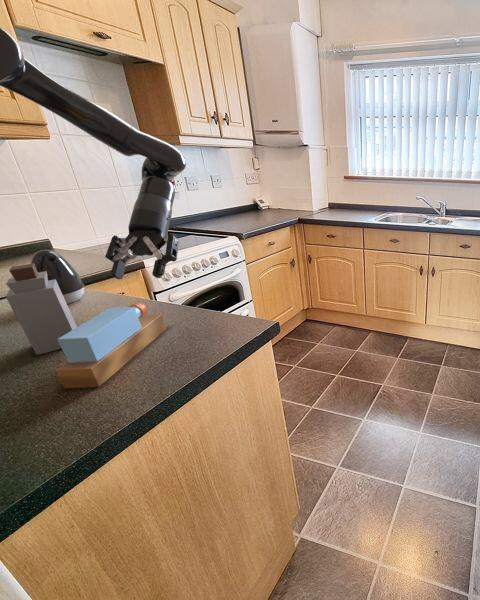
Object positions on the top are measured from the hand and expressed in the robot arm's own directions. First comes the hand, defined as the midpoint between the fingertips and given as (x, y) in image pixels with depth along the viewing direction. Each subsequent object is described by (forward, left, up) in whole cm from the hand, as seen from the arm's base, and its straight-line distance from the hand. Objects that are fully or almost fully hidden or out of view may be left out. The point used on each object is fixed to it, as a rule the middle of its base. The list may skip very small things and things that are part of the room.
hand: (136, 277), depth 76 cm
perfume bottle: (-16, -8, -13) cm, 23 cm away
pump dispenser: (-38, +13, -13) cm, 42 cm away
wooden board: (+2, -11, -13) cm, 17 cm away
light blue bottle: (+2, -11, -9) cm, 15 cm away
